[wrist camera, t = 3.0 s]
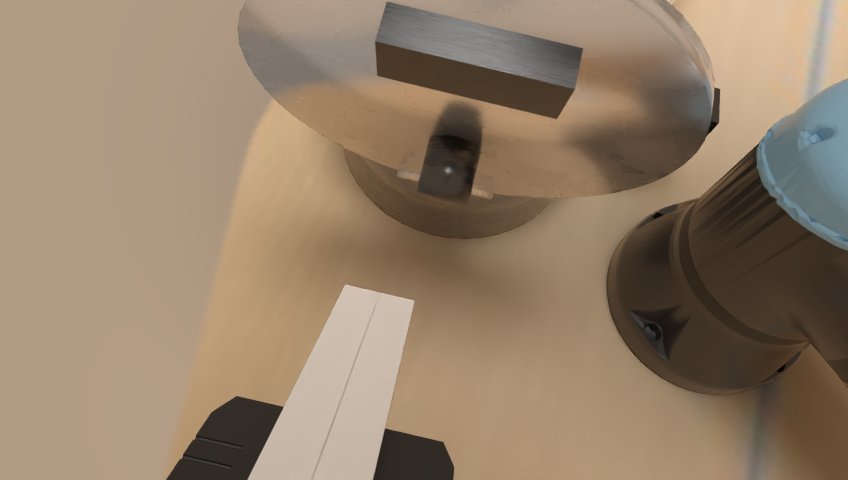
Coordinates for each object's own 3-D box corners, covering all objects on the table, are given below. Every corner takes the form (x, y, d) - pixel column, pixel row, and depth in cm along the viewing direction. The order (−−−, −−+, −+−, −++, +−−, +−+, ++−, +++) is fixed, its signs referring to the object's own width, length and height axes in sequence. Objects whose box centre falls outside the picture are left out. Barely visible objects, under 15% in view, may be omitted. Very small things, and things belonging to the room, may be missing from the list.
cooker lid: (849, -2, 18) (839, 133, 17) (606, 206, 39) (594, 272, 38) (176, -161, 18) (124, -38, 17) (293, 130, 39) (273, 193, 38)
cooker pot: (660, 90, 57) (730, -8, 46) (643, 286, 49) (723, 224, 38) (375, 21, 57) (377, -92, 46) (313, 205, 49) (297, 120, 38)
